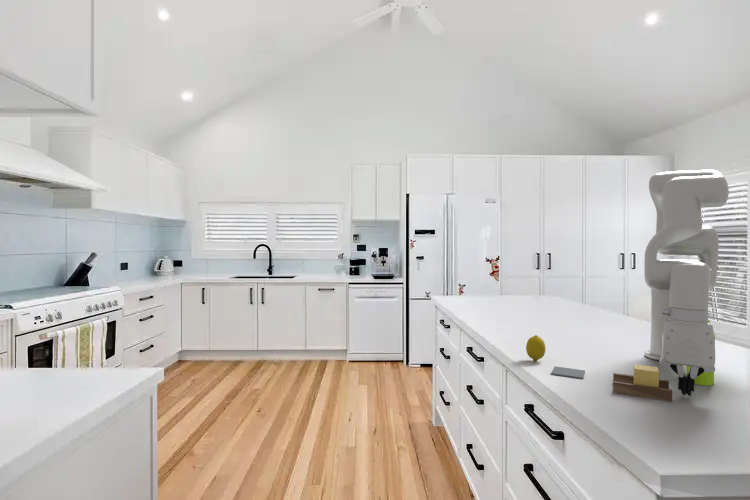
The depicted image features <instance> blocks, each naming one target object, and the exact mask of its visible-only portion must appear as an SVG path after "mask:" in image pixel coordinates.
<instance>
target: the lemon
mask: <svg viewBox="0 0 750 500" xmlns="http://www.w3.org/2000/svg"><path fill="white" fill-rule="evenodd" d="M525 346H526V347H525V349H526V354H527V356H528V357H529V358H530V359H531V360H533V361H534V362H537V361H538V360H541V359H543V357H544V356H545V354H546V343H545V341H544V339H543V338H542V337H540V336H538V335H537V334H535V335H533V336H531V337H529V339H527V342H526V345H525Z"/></svg>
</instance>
